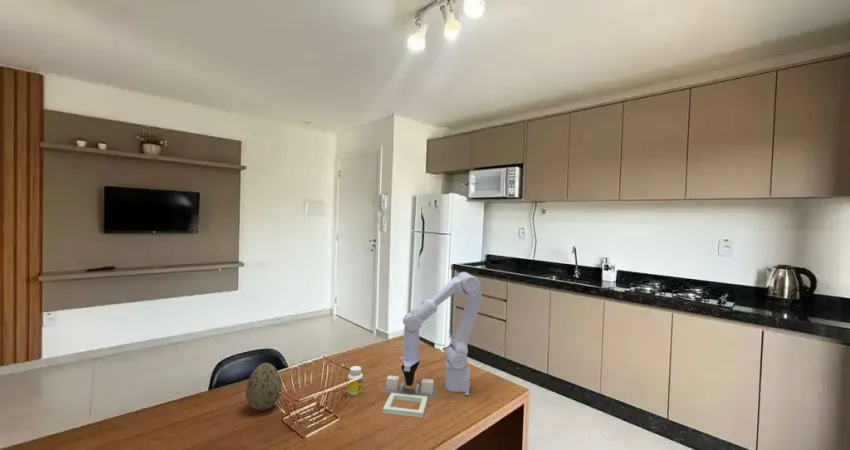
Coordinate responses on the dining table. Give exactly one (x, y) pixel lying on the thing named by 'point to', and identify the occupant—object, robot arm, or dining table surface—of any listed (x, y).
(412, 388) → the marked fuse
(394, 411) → the tray
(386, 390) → the block
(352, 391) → the supplement bottle
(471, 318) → the robot arm
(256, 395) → the decorative egg
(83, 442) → the dining table surface
